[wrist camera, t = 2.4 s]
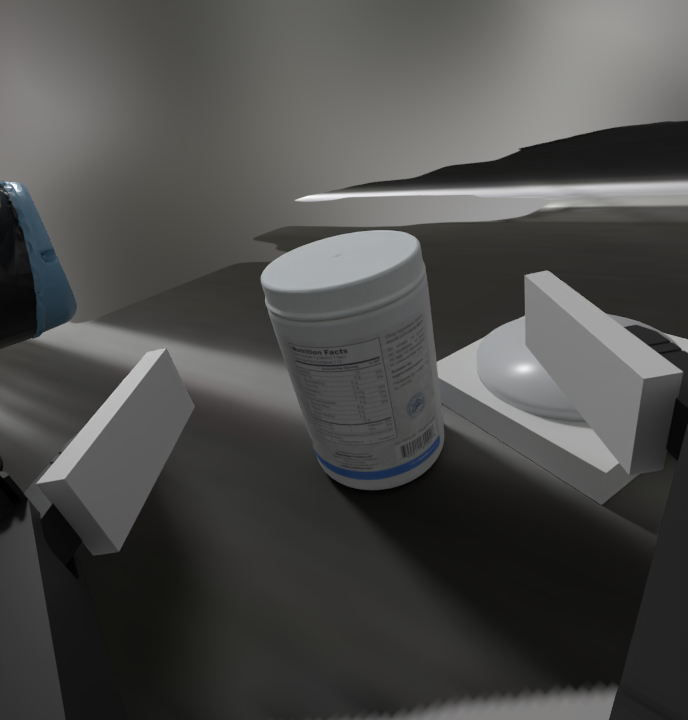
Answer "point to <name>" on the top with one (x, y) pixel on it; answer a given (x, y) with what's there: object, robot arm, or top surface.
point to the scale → (531, 408)
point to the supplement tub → (360, 354)
